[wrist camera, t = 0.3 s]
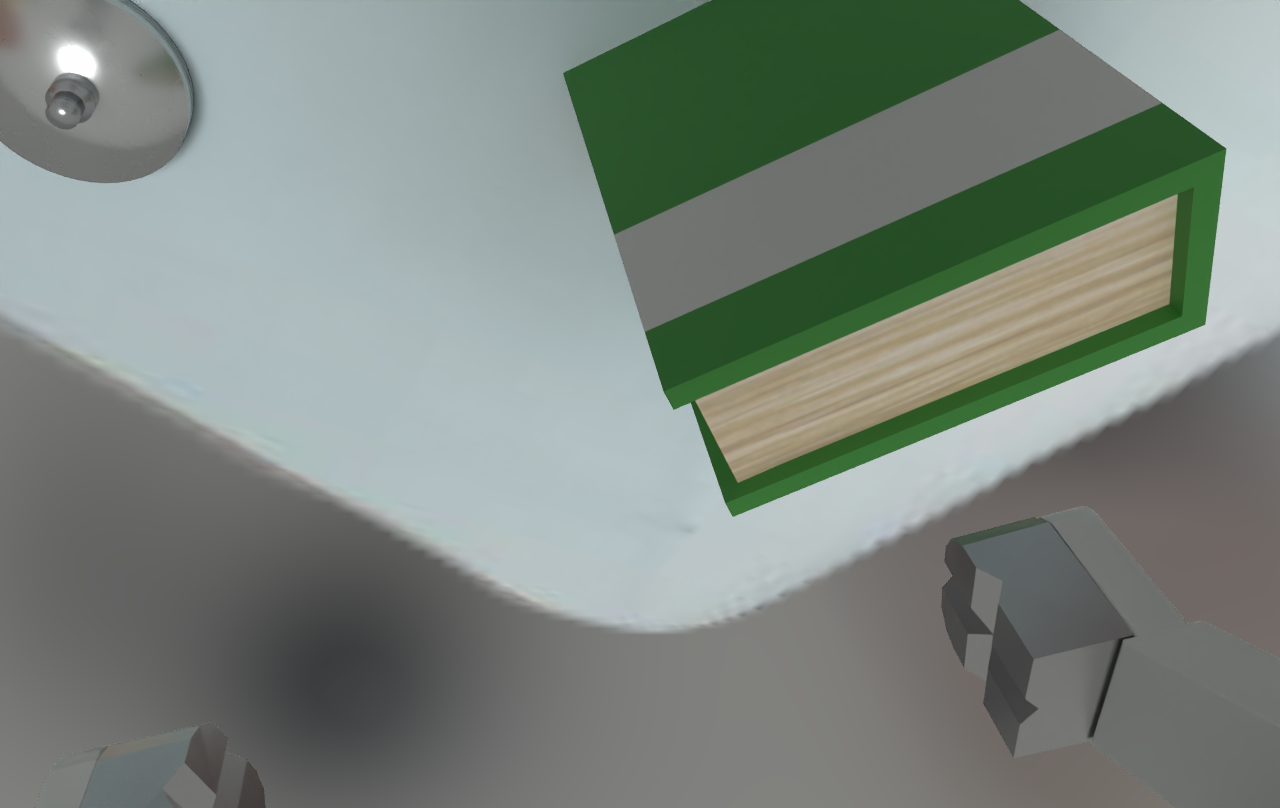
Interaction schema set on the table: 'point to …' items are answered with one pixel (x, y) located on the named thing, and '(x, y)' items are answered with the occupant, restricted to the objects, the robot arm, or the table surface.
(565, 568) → the table surface
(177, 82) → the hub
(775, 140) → the hardback book
